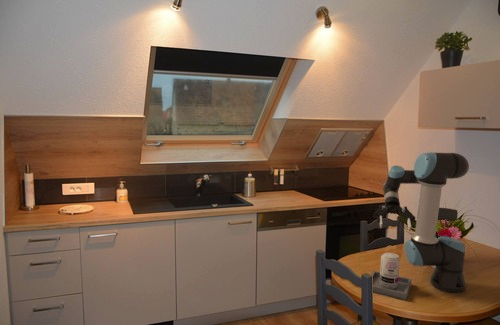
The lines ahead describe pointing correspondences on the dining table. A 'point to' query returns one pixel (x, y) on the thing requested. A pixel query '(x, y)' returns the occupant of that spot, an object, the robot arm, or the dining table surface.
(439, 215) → the rubber mallet
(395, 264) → the supplement can
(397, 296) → the tray
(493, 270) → the dining table surface
